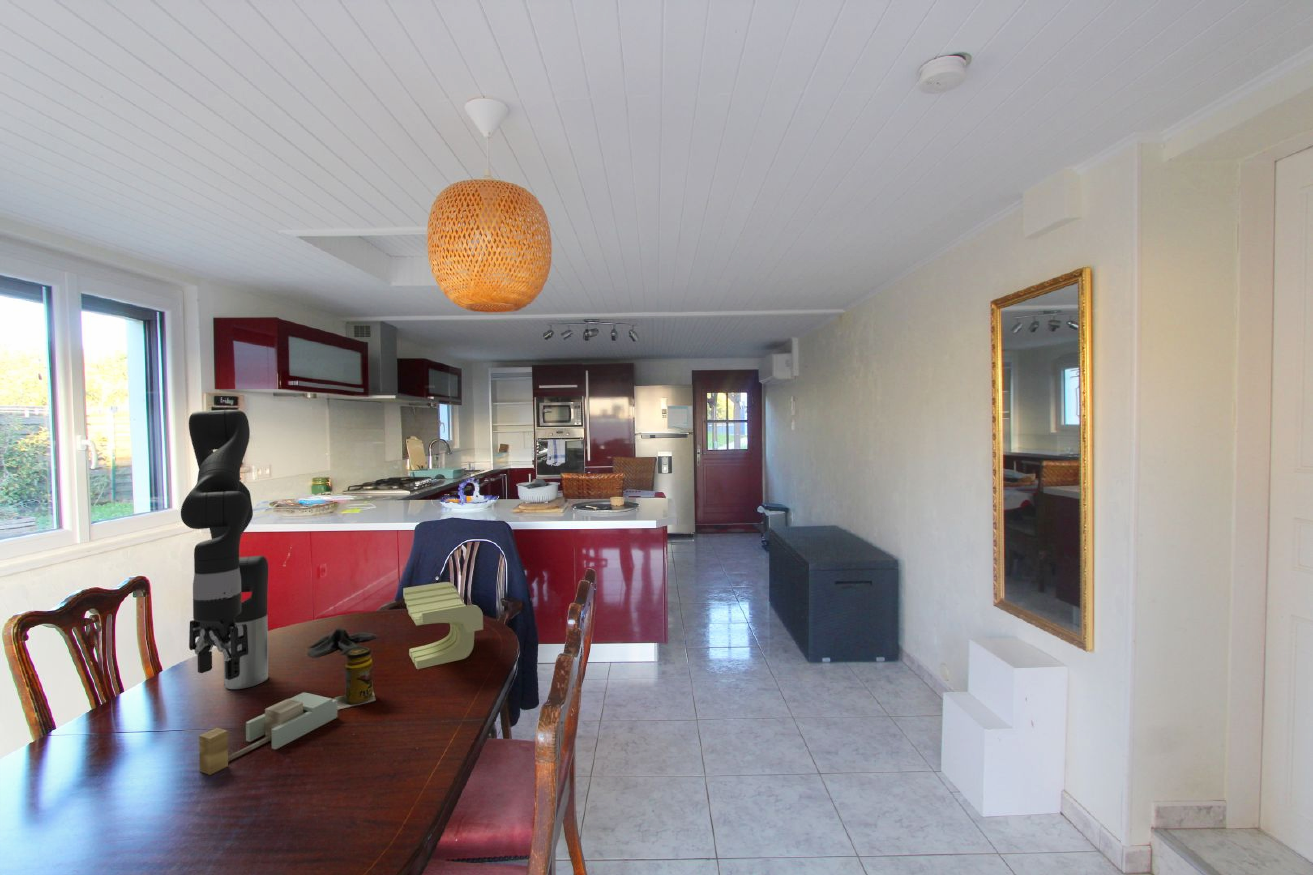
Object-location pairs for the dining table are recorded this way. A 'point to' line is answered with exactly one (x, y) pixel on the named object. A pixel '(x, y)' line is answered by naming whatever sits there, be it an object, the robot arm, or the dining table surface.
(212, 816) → the dining table surface
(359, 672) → the condiment
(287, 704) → the tethered block
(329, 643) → the cloth
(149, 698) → the dining table surface
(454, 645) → the slatted curved stool
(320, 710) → the u-shaped sage bracket
